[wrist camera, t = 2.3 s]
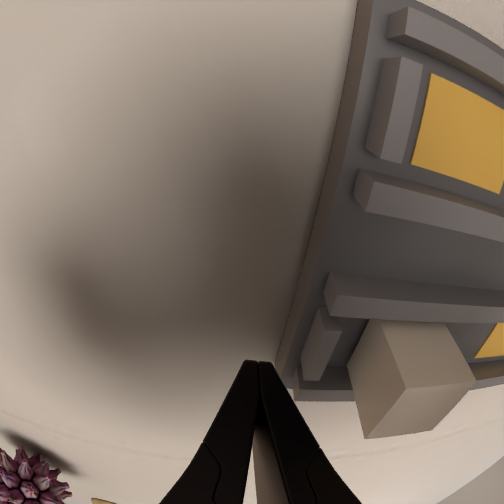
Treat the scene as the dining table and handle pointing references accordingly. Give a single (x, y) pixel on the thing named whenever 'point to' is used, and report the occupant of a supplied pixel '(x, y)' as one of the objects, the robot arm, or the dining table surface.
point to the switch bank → (406, 201)
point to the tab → (406, 376)
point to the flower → (29, 480)
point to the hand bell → (100, 501)
